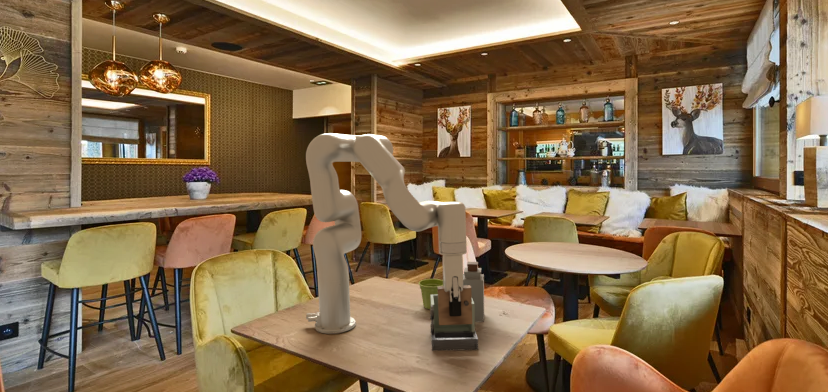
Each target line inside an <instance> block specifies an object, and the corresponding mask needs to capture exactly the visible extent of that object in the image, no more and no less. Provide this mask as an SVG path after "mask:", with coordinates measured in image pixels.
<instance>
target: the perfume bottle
mask: <svg viewBox="0 0 828 392" xmlns="http://www.w3.org/2000/svg"><path fill="white" fill-rule="evenodd" d="M466 266H467V267H464V268H463V286H464V285H470V286H471V294H472V299H473V301H474V306H475V323H476V322H477V323H484V322H485V321H484V320H485V275H484V273H483V274H482V267H479V262H478V261H468V262H467V264H466Z"/></svg>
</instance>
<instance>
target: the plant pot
mask: <svg viewBox="0 0 828 392" xmlns="http://www.w3.org/2000/svg"><path fill="white" fill-rule="evenodd" d="M418 285H419V289H420V291H421V298H422V304H423V308H424V309H426V310H431V295H434V294H438V286H443V279H438V278H427V279H421V280H420V281H418Z"/></svg>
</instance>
